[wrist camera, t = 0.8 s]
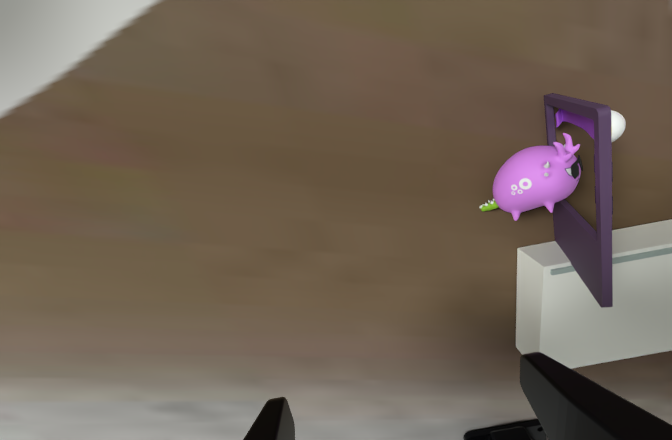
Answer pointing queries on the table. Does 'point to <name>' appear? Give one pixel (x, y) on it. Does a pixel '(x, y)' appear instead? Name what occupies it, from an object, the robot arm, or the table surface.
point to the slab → (584, 311)
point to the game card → (568, 188)
